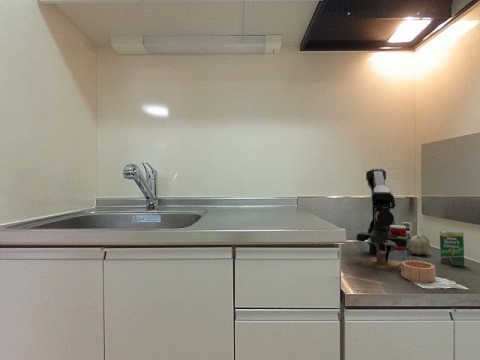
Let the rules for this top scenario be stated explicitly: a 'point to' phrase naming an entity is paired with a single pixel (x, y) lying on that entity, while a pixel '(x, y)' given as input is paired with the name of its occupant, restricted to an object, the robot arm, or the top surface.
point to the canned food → (398, 234)
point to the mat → (383, 269)
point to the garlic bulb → (419, 244)
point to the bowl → (418, 271)
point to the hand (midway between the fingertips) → (382, 260)
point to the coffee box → (452, 248)
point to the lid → (382, 262)
